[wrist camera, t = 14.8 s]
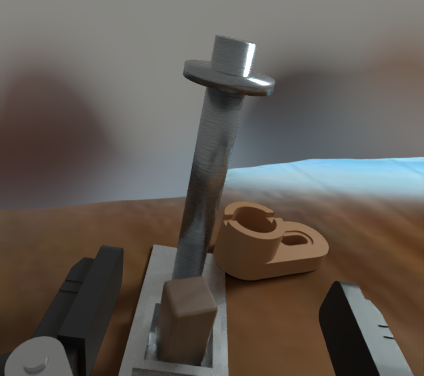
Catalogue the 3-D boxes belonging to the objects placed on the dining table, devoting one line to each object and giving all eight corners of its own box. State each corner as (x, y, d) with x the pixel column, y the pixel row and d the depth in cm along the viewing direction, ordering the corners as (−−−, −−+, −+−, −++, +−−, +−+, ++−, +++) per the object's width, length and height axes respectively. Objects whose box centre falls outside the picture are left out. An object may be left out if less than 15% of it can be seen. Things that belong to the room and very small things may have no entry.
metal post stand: (223, 257, 45) (282, 46, 31) (228, 414, 27) (365, 86, 14) (153, 246, 44) (183, 25, 31) (112, 400, 26) (139, 38, 13)
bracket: (227, 284, 40) (242, 241, 37) (204, 241, 46) (215, 202, 43) (332, 267, 48) (352, 231, 44) (300, 233, 54) (315, 199, 51)
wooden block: (153, 336, 32) (162, 279, 28) (191, 328, 33) (204, 273, 29) (162, 375, 29) (174, 316, 25) (203, 364, 30) (220, 308, 26)
